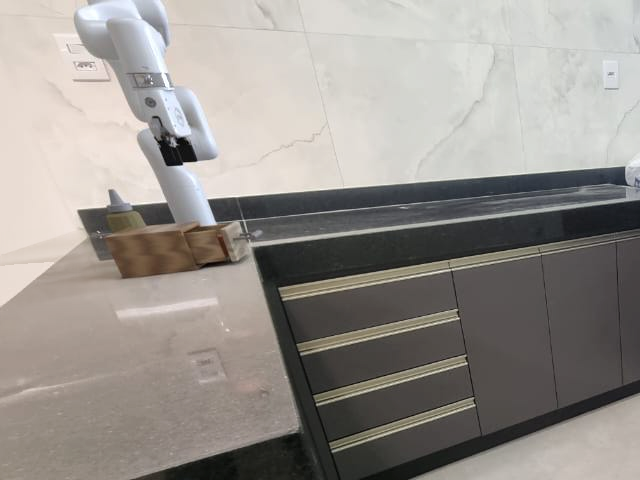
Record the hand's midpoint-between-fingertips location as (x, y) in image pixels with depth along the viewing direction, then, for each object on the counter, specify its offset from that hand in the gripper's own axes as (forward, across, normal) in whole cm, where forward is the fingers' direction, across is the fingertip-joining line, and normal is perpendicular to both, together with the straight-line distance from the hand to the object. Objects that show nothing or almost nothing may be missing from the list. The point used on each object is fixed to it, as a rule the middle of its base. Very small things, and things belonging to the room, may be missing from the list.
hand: (182, 164), depth 126 cm
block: (+21, -3, -2) cm, 22 cm away
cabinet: (+23, -3, +10) cm, 26 cm away
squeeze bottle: (+24, +12, +20) cm, 34 cm away
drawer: (+22, -3, -2) cm, 23 cm away
